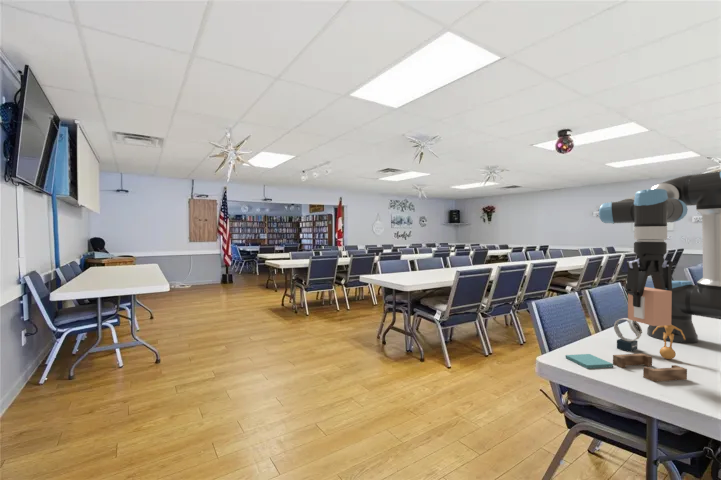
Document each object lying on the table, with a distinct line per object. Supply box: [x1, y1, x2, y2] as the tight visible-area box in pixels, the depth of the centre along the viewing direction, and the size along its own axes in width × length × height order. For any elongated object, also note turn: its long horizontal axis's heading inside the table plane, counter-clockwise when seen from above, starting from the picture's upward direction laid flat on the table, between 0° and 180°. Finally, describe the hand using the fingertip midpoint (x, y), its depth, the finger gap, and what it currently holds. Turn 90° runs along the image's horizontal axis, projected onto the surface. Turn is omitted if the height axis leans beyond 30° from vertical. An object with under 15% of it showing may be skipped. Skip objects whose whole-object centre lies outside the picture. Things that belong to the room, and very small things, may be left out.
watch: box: [613, 317, 643, 353], centre depth 123 cm, size 6×8×11 cm
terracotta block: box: [627, 286, 672, 326], centre depth 102 cm, size 6×8×10 cm
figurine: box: [652, 324, 685, 360], centre depth 114 cm, size 8×6×12 cm
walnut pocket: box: [612, 353, 688, 383], centre depth 102 cm, size 11×13×3 cm
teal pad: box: [565, 353, 614, 369], centre depth 110 cm, size 9×9×1 cm
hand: (648, 317), depth 102 cm, fingers closed on terracotta block, 6 cm apart
